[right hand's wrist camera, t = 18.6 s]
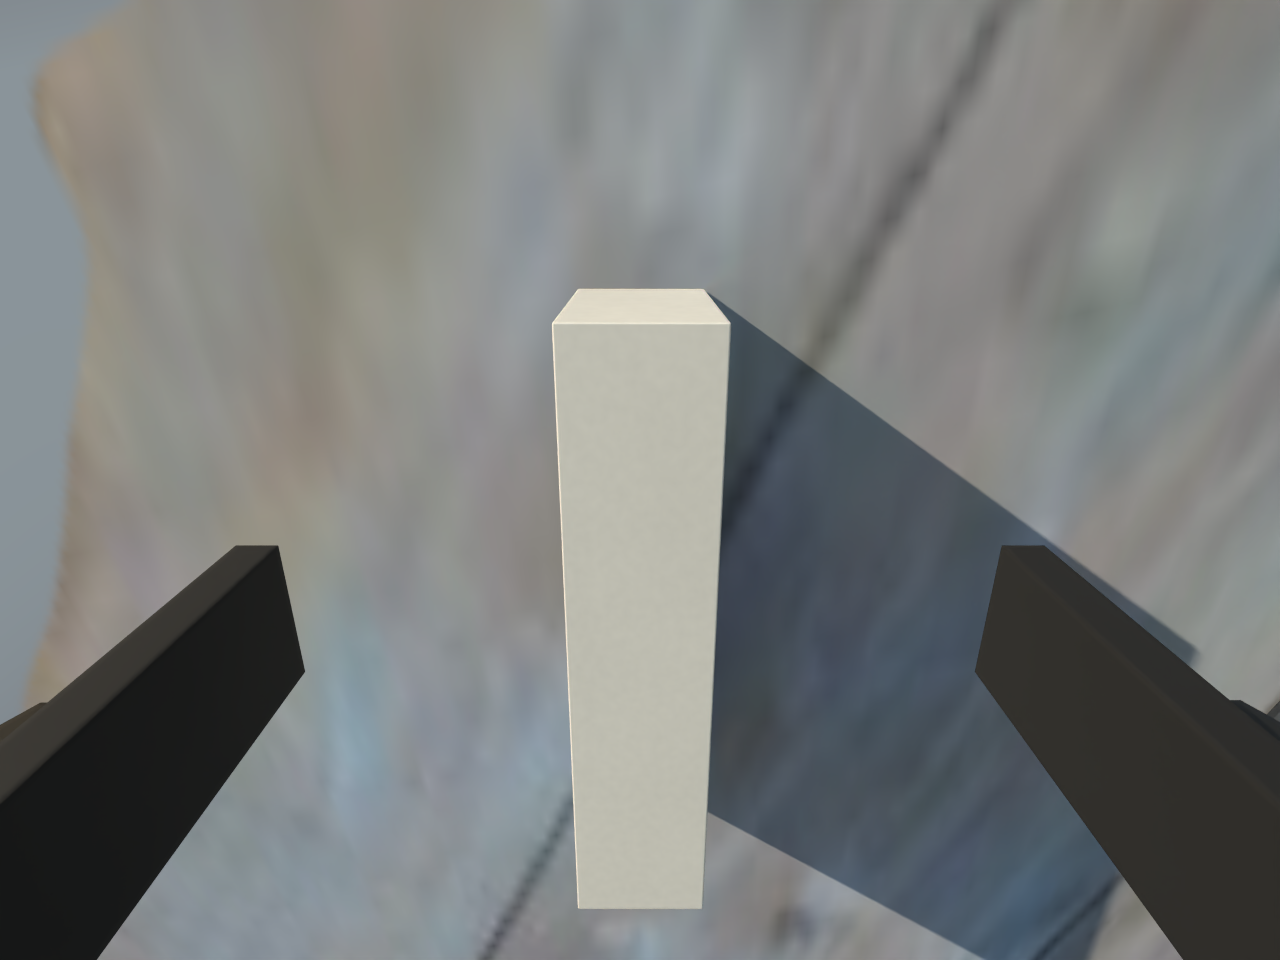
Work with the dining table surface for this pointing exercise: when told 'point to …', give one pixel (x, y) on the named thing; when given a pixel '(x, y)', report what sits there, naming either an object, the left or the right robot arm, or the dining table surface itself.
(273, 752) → the dining table surface
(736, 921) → the dining table surface
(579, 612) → the bar
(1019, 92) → the dining table surface
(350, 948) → the dining table surface
